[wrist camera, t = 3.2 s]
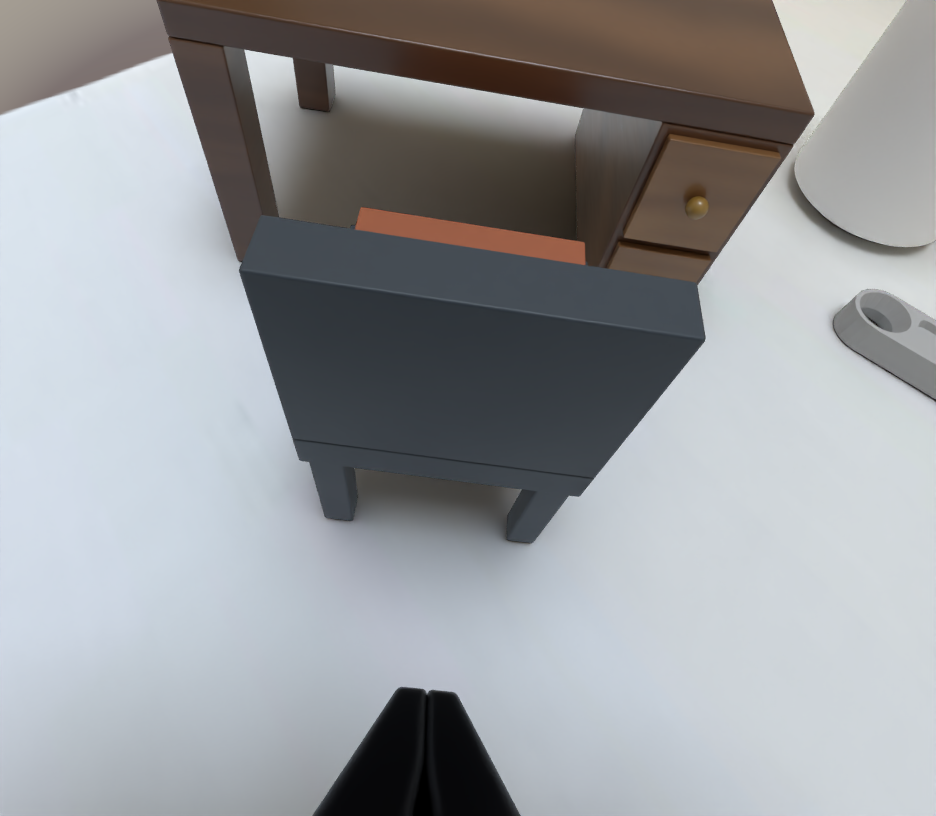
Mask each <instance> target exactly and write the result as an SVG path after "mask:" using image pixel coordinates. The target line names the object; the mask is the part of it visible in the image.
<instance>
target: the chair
mask: <svg viewBox="0 0 936 816" xmlns="http://www.w3.org/2000/svg"><path fill="white" fill-rule="evenodd" d="M239 273H240V276H241V279H242V282H243V285H244V288H245V291H246V294H247V298H248V301H249V304H250V307H251V310H252V313H253V316H254V319H255V323H256V326H257V329H258V332H259V335H260V338H261V341H262V344H263V348H264V351H265V354H266V357H267V360H268V363H269V366H270V370H271V373H272V376H273V379H274V382H275V385H276V388H277V391H278V395H279V398H280V401H281V404H282V407H283V410H284V413H285V416H286V420H287V423H288V426H289V429H290V432H291V435H292V438H293V442H294V445H295V448H296V451H297V454H298V457H299V460H300V461H306V462H309V463H310V466H311V470H312V473H313V477H314V480H315V484H316V487H317V491H318V494H319V498H320V501H321V505H322V508H323V512H324V515H325V517H326V518H332V519H340V520H348V521H352V520H353V518H354V513H355V508H356V503H357V498H358V494H357V486H356V478H355V470H354V468H361V469H368V470H376V471H384V472H392V473H399V474H407V475H415V476H423V477H430V478H438V479H446V480H454V481H461V482H469V483H477V484H485V485H492V486H500V487H508V488H516V489H522V490H521V492H520V494H519V496H518V497H517V499H516V501H515V503H514V505H513V506H512V508H511V510H510V512H509V514H508V518H507V537H506V538H507V540H511V541H520V542H528V543H533V542H534V541H535V539H536V538H537V537H538V536H539V534H540V533H541V532H542V530H543V529H544V528H545V526H546V525H547V524H548V522H549V521H550V520H551V518H552V517H553V516H554V514H555V513H556V512H557V511H558V509H559V508H560V507H561V505H562V504H563V503H564V501H565V500H566V499H567V497H568V496H569V495H570V496H578V497H579V496H580V495H581V494H582V493H583V492H584V490H585V489H586V488H587V487H588V485H589V484H590V483H591V482H592V480H593V479H594V477H596V475H597V474H598V473H599V472H600V470H601V469H602V468H603V467H604V465H605V464H606V463H607V462H608V460H609V459H610V458H611V457H612V456H613V454H614V453H615V452H616V451H617V449H618V448H619V447H620V446H621V444H622V443H623V442H624V441H625V439H626V438H627V437H628V436H629V434H630V433H631V432H632V431H633V430H634V428H635V427H636V426H637V425H638V423H639V422H640V421H641V420H642V418H643V417H644V416H645V415H646V413H647V412H648V411H649V410H650V408H651V407H652V406H653V405H654V404H655V402H656V401H657V400H658V399H659V397H660V396H661V395H662V394H663V392H664V391H665V390H666V389H667V387H668V386H669V385H670V384H671V382H672V381H673V380H674V379H675V378H676V376H677V375H678V374H679V373H680V371H681V370H682V369H683V368H684V366H685V365H686V364H687V363H688V361H689V360H690V359H691V358H692V356H693V355H694V354H695V353H696V352H697V350H698V349H699V348H700V347H701V345H702V344H703V343H704V342H705V332H704V325H703V319H702V313H701V307H700V300H699V294H698V288H697V284H696V283H695V282H691V281H684V280H678V279H671V278H665V277H658V276H652V275H646V274H639V273H633V272H626V271H620V270H613V269H607V268H601V267H594V266H588V262H587V261H585V243H584V242H580V241H574V240H568V239H561V238H555V237H549V236H542V235H536V234H530V233H523V232H517V231H511V230H504V229H498V228H492V227H485V226H479V225H473V224H466V223H460V222H454V221H447V220H441V219H435V218H428V217H422V216H416V215H409V214H403V213H397V212H390V211H384V210H378V209H371V208H365V207H361V208H360V211H359V215H358V219H357V222H356V225H351V227H350V228H343V227H337V226H330V225H324V224H318V223H311V222H305V221H298V220H292V219H285V218H279V217H273V216H266V215H261V216H260V218H259V221H258V223H257V226H256V228H255V231H254V233H253V236H252V238H251V241H250V243H249V246H248V248H247V251H246V253H245V256H244V258H243V261H242V264H241V266H240V269H239Z"/></svg>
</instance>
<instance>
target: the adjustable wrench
mask: <svg viewBox="0 0 936 816" xmlns="http://www.w3.org/2000/svg"><path fill="white" fill-rule="evenodd" d="M866 317H868V318H870V319H872V320H873V321H874V322H876V323H877V324H878V325H879V326H880V327H881V328H882V329H881V328H879V327H877V326H876V325H874V324H873V323H872V322H870V321H869V320H868V319H867V318H866ZM833 323H834V329H835V331H836V333H837V335H838V336H839V337H840V339H841V340H842V341H843V342H844V343H845V344H846V345H848V346H849V347H850V348H852V349H853V350H855V351H856V352H858V353H860V354H861V355H863V356H865V357H866V358H868V359H870V360H871V361H873V362H874V363H876V364H878V365H879V366H881V367H883V368H884V369H886V370H888V371H889V372H891V373H893V374H894V375H896V376H898V377H899V378H901V379H903V380H904V381H906V382H908V383H909V384H911V385H913V386H914V387H916V388H917V389H919V390H921V391H922V392H924V393H926V394H927V395H929V396H931V397H932V398H934V399H936V320H935V319H933V318H932V317H930V316H928V315H926V314H925V313H923V312H921V311H920V310H918V309H916V308H915V307H913V306H911V305H910V304H908V303H906V302H905V301H903V300H901V299H900V298H898V297H896V296H894V295H892V294H890V293H888V292H886V291H882V290H878V289H866V290H863V291H861V292H860V293H859V294H858V295H856V296H855V297H854V298H853V299H852V300H851V301H850V302H849V303H848V304H847V305H846V306H845V307H844V308H843V309H842V310H841V311H840V312H839V313H838V314H837V315H836V316H835V318H834V321H833Z"/></svg>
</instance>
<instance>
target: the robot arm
mask: <svg viewBox="0 0 936 816" xmlns="http://www.w3.org/2000/svg"><path fill="white" fill-rule="evenodd" d="M313 816H520V814H519V812H518V810H517V808H516V806H515V804H514V802H513V801H512V799H511V797H510V795H509V793H508V791H507V789H506V787H505V785H504V783H503V781H502V780H501V778H500V776H499V774H498V772H497V770H496V768H495V766H494V764H493V762H492V760H491V758H490V757H489V755H488V753H487V751H486V749H485V747H484V745H483V743H482V741H481V739H480V737H479V736H478V734H477V732H476V730H475V728H474V726H473V724H472V722H471V720H470V718H469V716H468V714H467V713H466V711H465V709H464V707H463V705H462V703H461V701H460V699H459V697H458V696H457V695H456V694H455V693H454V692H447V691H437V690H431V691H429V692H428V693H426V691H425V690H424V689H418V688H409V687H400V688H398V689H397V690H396V691H395V693H394V694H393V696H392V697H391V699H390V700H389V702H388V703H387V705H386V706H385V708H384V709H383V711H382V712H381V714H380V715H379V717H378V718H377V720H376V721H375V723H374V724H373V726H372V727H371V729H370V730H369V732H368V733H367V735H366V736H365V738H364V739H363V741H362V742H361V744H360V745H359V747H358V748H357V750H356V751H355V753H354V754H353V756H352V757H351V759H350V760H349V762H348V763H347V765H346V766H345V768H344V769H343V771H342V772H341V774H340V775H339V777H338V778H337V780H336V781H335V783H334V784H333V786H332V787H331V789H330V790H329V792H328V793H327V795H326V796H325V798H324V799H323V801H322V802H321V804H320V805H319V807H318V808H317V810H316V811H315V813H314V814H313Z"/></svg>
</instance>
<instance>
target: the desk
mask: <svg viewBox="0 0 936 816" xmlns="http://www.w3.org/2000/svg"><path fill="white" fill-rule="evenodd" d="M157 3H158V6H159V9H160V12H161V16H162V19H163V22H164V25H165V28H166V32H167V34H168V36H169V38H168V39H169V43H170V46H171V49H172V52H173V56H174V59H175V62H176V65H177V68H178V71H179V75H180V78H181V81H182V84H183V87H184V90H185V94H186V97H187V100H188V103H189V106H190V110H191V113H192V116H193V119H194V122H195V125H196V129H197V132H198V135H199V138H200V141H201V144H202V148H203V151H204V154H205V157H206V160H207V164H208V167H209V170H210V173H211V176H212V179H213V183H214V186H215V189H216V192H217V195H218V198H219V202H220V205H221V208H222V211H223V214H224V218H225V221H226V224H227V227H228V230H229V233H230V237H231V240H232V243H233V246H234V249H235V253H236V256H237V259H238V260H239V261H243V258H244V256H245V253H246V251H247V248H248V246H249V243H250V241H251V238H252V236H253V233H254V231H255V228H256V226H257V223H258V221H259V218H260V216H261V215H266V216H273V217H279V214H278V209H277V205H276V200H275V195H274V190H273V186H272V181H271V176H270V171H269V166H268V162H267V157H266V152H265V147H264V142H263V138H262V133H261V128H260V123H259V119H258V114H257V109H256V104H255V99H254V95H253V90H252V85H251V80H250V75H249V71H248V66H247V61H246V56H245V52H244V49H245V50H250V51H256V52H262V53H268V54H273V55H279V56H285V57H291V58H293V63H294V70H295V77H296V84H297V91H298V99H299V106H300V107H303V108H309V109H315V110H321V111H327V112H330V109H331V106H332V103H333V100H334V98H335V95H336V94H335V82H334V69H333V65H337V66H343V67H348V68H354V69H360V70H366V71H372V72H377V73H383V74H389V75H395V76H400V77H406V78H412V79H418V80H423V81H429V82H435V83H441V84H447V85H452V86H458V87H464V88H470V89H475V90H481V91H487V92H493V93H499V94H504V95H510V96H516V97H522V98H527V99H533V100H539V101H545V102H550V103H556V104H562V105H568V106H574V107H579V108H584V109H583V112H582V115H581V118H580V121H579V125H578V128H577V131H576V134H575V159H576V220H577V241H580V242H584V243H585V261H587V262H588V266H594V267H601V268H607V269H613V270H620V271H626V272H633V273H639V274H646V275H652V276H658V277H665V278H671V279H678V280H684V281H691V282H695V283H696V284H697V285H698V284H699V282H700V281H701V279H702V278H703V277H704V275H705V274H706V272H707V271H708V269H709V268H710V266H711V265H712V264H713V262H714V261H715V259H716V258H717V256H718V255H719V253H720V252H721V251H722V249H723V248H724V246H725V245H726V243H727V242H728V240H729V239H730V237H731V236H732V235H733V233H734V232H735V230H736V229H737V227H738V226H739V224H740V223H741V222H742V220H743V219H744V217H745V216H746V214H747V213H748V211H749V210H750V209H751V207H752V206H753V204H754V203H755V201H756V200H757V198H758V197H759V196H760V194H761V193H762V191H763V190H764V188H765V187H766V185H767V184H768V182H769V181H770V180H771V178H772V177H773V175H774V174H775V172H776V171H777V169H778V168H779V167H780V165H781V164H782V162H783V161H784V159H785V158H786V156H787V155H788V154H789V152H790V151H791V149H792V148H793V144H795V143H796V141H797V140H798V138H799V137H800V135H801V134H802V133H803V131H804V130H805V128H806V127H807V125H808V124H809V122H810V121H811V120H812V118H813V117H814V110H813V107H812V105H811V102H810V99H809V97H808V94H807V92H806V89H805V86H804V84H803V81H802V78H801V76H800V73H799V70H798V68H797V65H796V62H795V60H794V57H793V54H792V52H791V49H790V46H789V44H788V41H787V39H786V36H785V33H784V31H783V28H782V25H781V23H780V20H779V17H778V15H777V12H776V9H775V7H774V4H773V1H772V0H157Z"/></svg>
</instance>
